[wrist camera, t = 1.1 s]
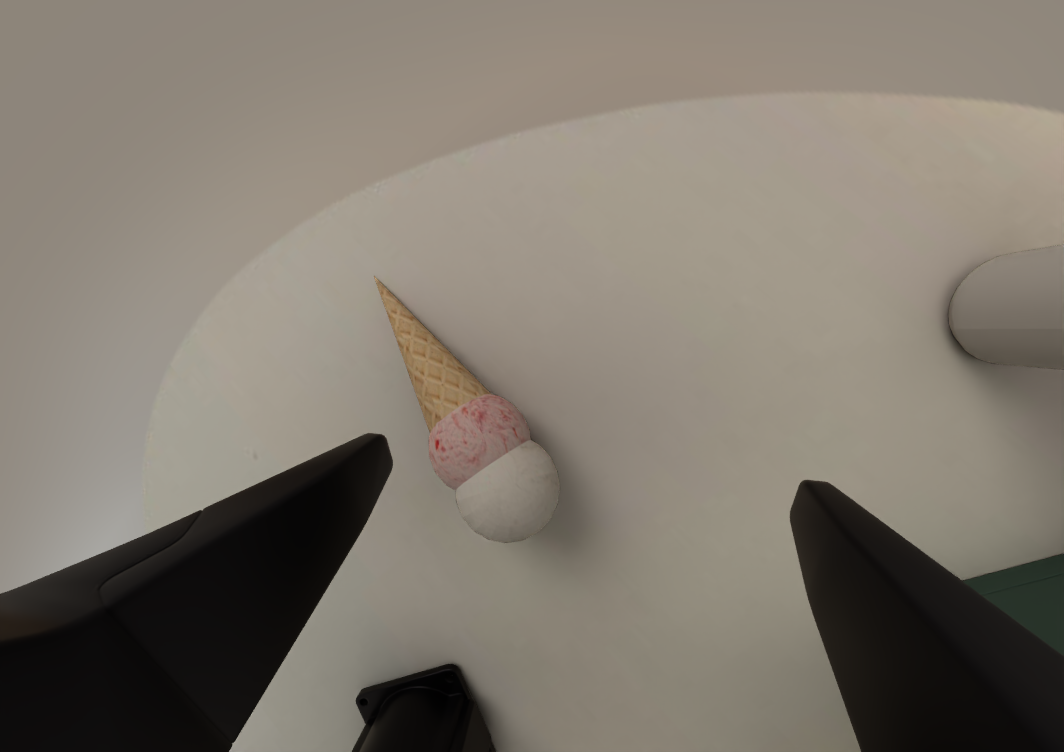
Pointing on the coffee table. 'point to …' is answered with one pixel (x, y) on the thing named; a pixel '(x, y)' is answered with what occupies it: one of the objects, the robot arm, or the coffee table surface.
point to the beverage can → (1013, 309)
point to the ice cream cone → (476, 438)
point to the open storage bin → (1030, 596)
